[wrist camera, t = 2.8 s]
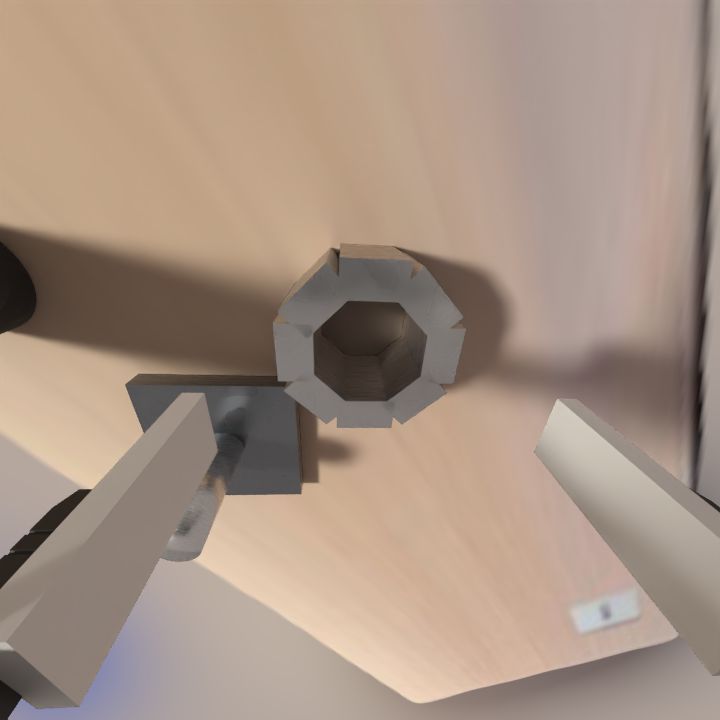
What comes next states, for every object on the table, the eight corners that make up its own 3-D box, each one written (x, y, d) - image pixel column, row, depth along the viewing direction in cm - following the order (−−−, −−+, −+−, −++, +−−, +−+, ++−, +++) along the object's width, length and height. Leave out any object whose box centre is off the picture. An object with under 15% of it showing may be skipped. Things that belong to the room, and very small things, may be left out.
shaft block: (138, 374, 22) (10, 476, 13) (296, 376, 23) (269, 474, 14) (176, 481, 27) (103, 601, 19) (303, 480, 28) (286, 595, 20)
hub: (288, 241, 18) (265, 253, 13) (442, 248, 19) (481, 263, 13) (296, 376, 23) (282, 427, 17) (420, 378, 23) (442, 427, 18)
